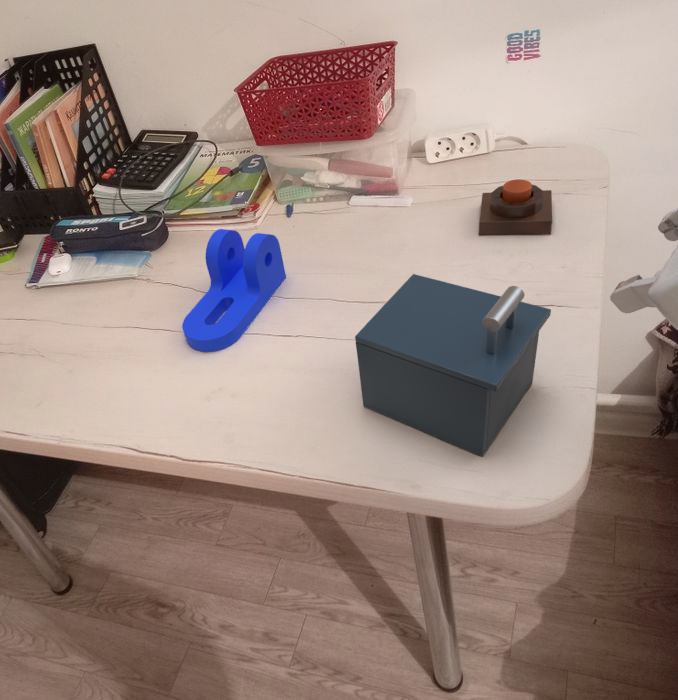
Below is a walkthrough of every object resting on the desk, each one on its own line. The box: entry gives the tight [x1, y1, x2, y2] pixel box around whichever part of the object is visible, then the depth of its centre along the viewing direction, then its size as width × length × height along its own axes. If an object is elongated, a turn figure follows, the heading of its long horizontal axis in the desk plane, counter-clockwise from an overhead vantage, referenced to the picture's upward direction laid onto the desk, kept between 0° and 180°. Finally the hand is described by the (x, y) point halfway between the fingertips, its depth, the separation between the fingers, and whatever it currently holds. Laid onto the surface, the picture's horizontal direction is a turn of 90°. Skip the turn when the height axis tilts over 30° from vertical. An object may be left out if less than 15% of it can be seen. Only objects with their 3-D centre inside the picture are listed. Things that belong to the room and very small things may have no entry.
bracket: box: [181, 228, 287, 353], centre depth 86 cm, size 18×8×9 cm, turn 147°
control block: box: [478, 184, 553, 236], centre depth 87 cm, size 9×8×4 cm
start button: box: [502, 179, 533, 203], centre depth 86 cm, size 4×4×2 cm
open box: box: [355, 331, 540, 458], centre depth 65 cm, size 14×12×10 cm
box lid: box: [354, 273, 552, 391], centre depth 60 cm, size 14×12×5 cm
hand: (643, 263), depth 45 cm, fingers open, 8 cm apart
